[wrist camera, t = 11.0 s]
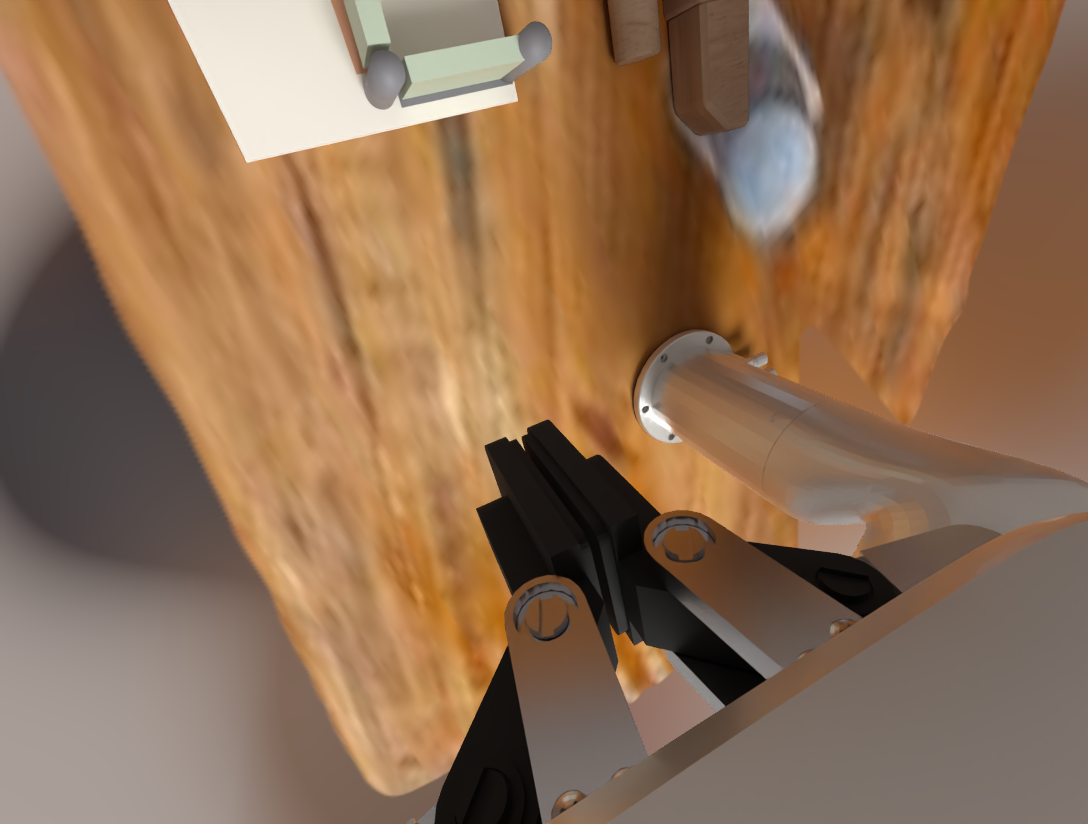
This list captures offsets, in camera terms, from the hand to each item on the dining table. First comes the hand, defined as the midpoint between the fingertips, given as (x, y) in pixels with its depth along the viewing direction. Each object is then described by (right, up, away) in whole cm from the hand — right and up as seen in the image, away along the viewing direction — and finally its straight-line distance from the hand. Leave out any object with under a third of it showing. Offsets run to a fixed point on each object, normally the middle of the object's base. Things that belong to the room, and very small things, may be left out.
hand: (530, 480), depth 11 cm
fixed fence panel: (-6, +24, +18) cm, 31 cm away
